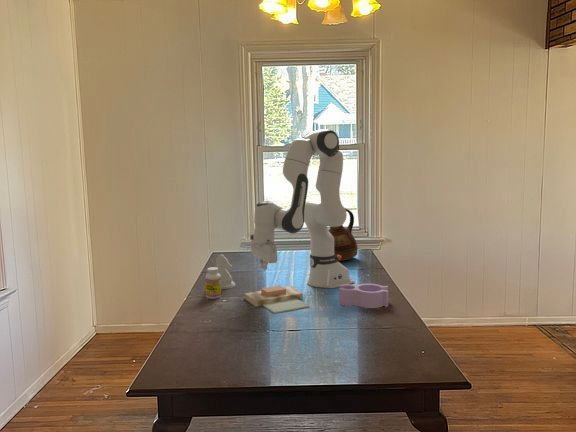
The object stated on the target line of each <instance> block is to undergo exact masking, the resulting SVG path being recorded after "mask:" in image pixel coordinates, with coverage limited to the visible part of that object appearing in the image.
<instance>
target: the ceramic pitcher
mask: <svg viewBox="0 0 576 432" xmlns="http://www.w3.org/2000/svg"><path fill="white" fill-rule="evenodd" d="M344 208H345V210H346V213H348V216H349V223H348V225H347V227H344V224H343V225H341V226H338V227H329V229H328V230H329V232H330V233H331V234H332V236H333V237H334V254H336V255H341V256H342V257H341V259H340V260H339V259H337V261H338V262H340V261H345V260H346V261H348V260H350V259H353V258H354V257H356V256H357V255H358V244H357V241H356V238H355V237H354V235H353V233H352V231H353V227H354V224H355V216H354V214H353V212H352V211H351V210H350V209H348V208H346V207H344Z"/></svg>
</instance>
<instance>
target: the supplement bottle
mask: <svg viewBox="0 0 576 432" xmlns="http://www.w3.org/2000/svg"><path fill="white" fill-rule="evenodd" d="M206 270H207V273H206V275H205V297H206V298H207V299H209V300H210V299H211V300H215V299H220V298H221V297H222V289H221V275H220V274H219V273H218V268H217V267H216V266H212V267H210V266H209V267H208V268H207V269H206Z"/></svg>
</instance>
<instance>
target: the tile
mask: <svg viewBox="0 0 576 432" xmlns="http://www.w3.org/2000/svg"><path fill="white" fill-rule="evenodd" d="M283 287H284V286H281V285H274V286H267V287H262V288H261V289H260V291H261V293H262V294H264V295H265V296H267V297H269V296H275V295H280V294H286V289H285V288H283Z"/></svg>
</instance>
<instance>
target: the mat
mask: <svg viewBox="0 0 576 432" xmlns="http://www.w3.org/2000/svg"><path fill="white" fill-rule="evenodd" d="M262 307H264V308H265V309H267V310H268V311H269V312H271V313H272V314H280V313H286V312H290V311H297V310H302V309H307V308H310V305H309V304H307V303H306V302H304V301H302V300H301V299H297V298H295V299H289V300H284V301H278V302H272V303H267V304H263V306H262Z"/></svg>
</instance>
